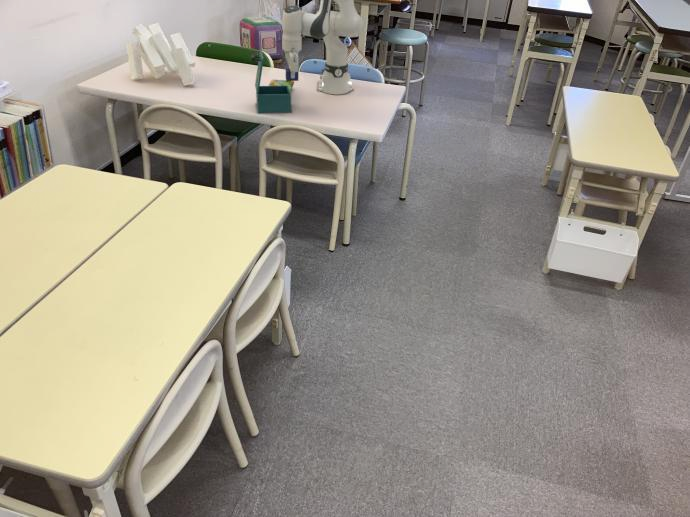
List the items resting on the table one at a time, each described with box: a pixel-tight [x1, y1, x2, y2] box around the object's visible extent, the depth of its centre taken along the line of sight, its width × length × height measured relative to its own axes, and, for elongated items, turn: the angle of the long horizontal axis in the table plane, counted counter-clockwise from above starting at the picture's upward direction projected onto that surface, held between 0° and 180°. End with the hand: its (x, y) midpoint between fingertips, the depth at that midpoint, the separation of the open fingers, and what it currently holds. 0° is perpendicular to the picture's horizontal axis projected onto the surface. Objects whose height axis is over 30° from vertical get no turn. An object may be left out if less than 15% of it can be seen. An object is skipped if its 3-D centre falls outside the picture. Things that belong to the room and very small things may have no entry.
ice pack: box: [285, 68, 299, 82], centre depth 258 cm, size 4×6×4 cm
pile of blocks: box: [125, 22, 196, 87], centre depth 287 cm, size 35×30×35 cm
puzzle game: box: [268, 79, 295, 93], centre depth 283 cm, size 12×5×20 cm
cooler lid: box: [250, 50, 265, 94], centre depth 256 cm, size 16×13×5 cm
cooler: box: [255, 85, 292, 114], centre depth 266 cm, size 16×13×9 cm
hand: (292, 76), depth 258 cm, fingers closed on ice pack, 4 cm apart
